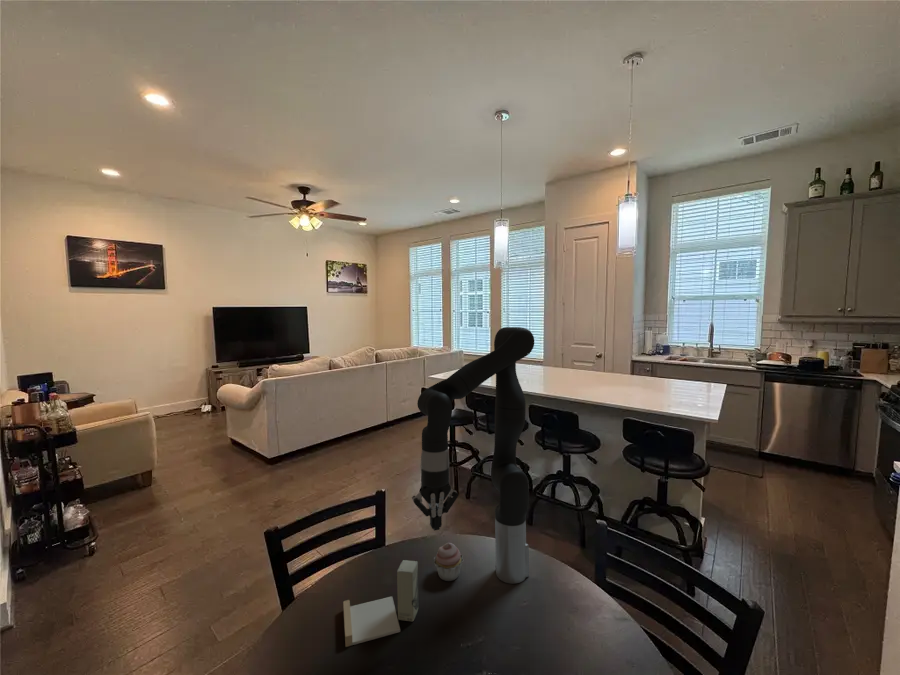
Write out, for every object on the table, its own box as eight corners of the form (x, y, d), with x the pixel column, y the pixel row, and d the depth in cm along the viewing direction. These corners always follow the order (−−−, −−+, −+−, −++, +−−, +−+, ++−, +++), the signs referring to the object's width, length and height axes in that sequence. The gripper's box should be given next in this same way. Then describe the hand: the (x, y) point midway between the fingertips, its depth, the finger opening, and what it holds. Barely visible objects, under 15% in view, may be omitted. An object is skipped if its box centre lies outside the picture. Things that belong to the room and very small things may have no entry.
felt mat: (392, 598, 103) (392, 589, 103) (400, 631, 91) (400, 622, 91) (343, 610, 99) (343, 601, 98) (345, 647, 87) (345, 636, 87)
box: (413, 622, 94) (412, 573, 94) (397, 620, 95) (396, 571, 95) (419, 607, 99) (418, 560, 99) (403, 605, 100) (402, 558, 100)
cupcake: (430, 583, 108) (430, 550, 108) (436, 563, 118) (436, 533, 117) (462, 586, 107) (461, 553, 107) (465, 566, 116) (465, 535, 116)
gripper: (453, 457, 104) (454, 517, 105) (408, 463, 100) (408, 526, 100) (463, 466, 97) (463, 531, 98) (414, 473, 93) (414, 541, 93)
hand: (435, 528), depth 99 cm, fingers closed
